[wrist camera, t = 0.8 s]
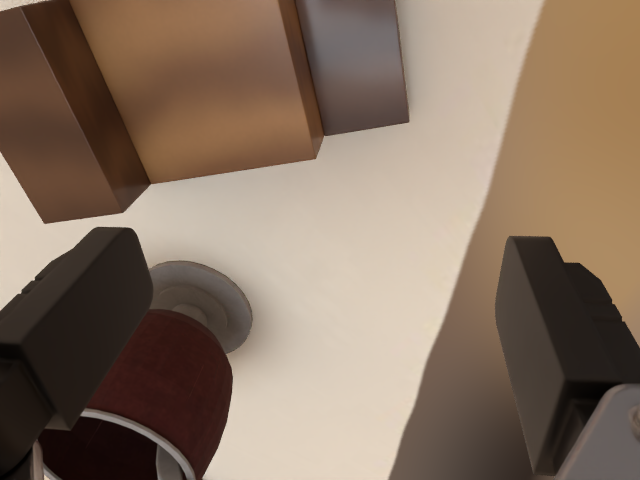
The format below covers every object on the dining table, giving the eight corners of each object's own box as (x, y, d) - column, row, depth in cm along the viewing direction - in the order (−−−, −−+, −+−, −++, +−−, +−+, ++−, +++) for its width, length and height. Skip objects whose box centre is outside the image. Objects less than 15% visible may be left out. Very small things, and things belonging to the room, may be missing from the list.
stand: (48, 5, 33) (-74, 31, 25) (385, -85, 28) (379, -92, 19) (121, 159, 40) (44, 224, 31) (408, 110, 34) (412, 172, 25)
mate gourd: (136, 344, 52) (16, 535, 36) (120, 243, 45) (-44, 427, 28) (272, 369, 52) (213, 577, 35) (279, 270, 44) (208, 476, 27)
